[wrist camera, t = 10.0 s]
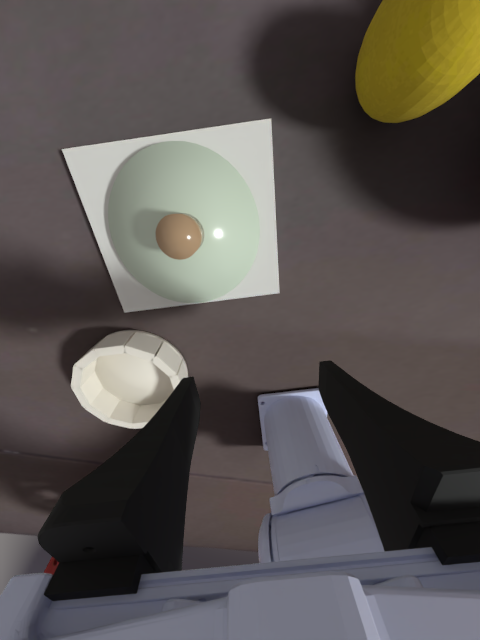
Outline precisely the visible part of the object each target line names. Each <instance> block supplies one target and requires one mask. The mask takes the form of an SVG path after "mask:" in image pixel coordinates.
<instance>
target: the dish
mask: <svg viewBox="0 0 480 640" xmlns="http://www.w3.org/2000/svg"><path fill="white" fill-rule="evenodd" d="M187 377H188V368H187V364H186V362H185V359H184V358H183V356H182V354H181V353H180V352H179V350H178V349H177V348H176V347H175V346H174V345H172V344H171V343H170V342H169V341H167V340H165V339H164V338H162V337H160V336H158V335H155V334H153V333H150V332H146V331H141V330H122V331H117V332H114V333H111V334H109V335H107V336H106V337H104V338H103V339H101V340H100V341H99V342H98V343H97V344H96V345H95V346H93V347H92V348H91V349H90V350H89V351H88V352H87V353H86V354H85V355H84V356H82V357H81V358H80V359H79V360H78V361H77V362H76V363H75V364H74V366H73V373H72V381H71V386H72V387H71V388H72V390H73V392H74V393H75V395H76V397H77V398H78V400H79V402H80V403H81V405H82V407H85V408H84V409H86V410H87V411H89V412H90V413H92V414H93V415H95V416H96V417H98V418H99V419H101V420H102V421H104V422H106V421H107V423H109V424H113V425H117V426H121V427H125V428H130V429H132V427H133V429H139V428H143V427H144V426H145V425H146V424H147V423H148V422H149V421H150V420H151V418H152V417H153V416H154V415H155V414H156V412H157V411H158V410H159V409H160V408H161V406H162V405H163V404H164V403H165V401H166V400H167V399H168V397H169V396H170V395H171V393H172V392H173V391H174V389H175V388H176V387H177V385H178V384H179V382H180V381H181V380H182V379H183V378H187Z"/></svg>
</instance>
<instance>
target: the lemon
mask: <svg viewBox="0 0 480 640" xmlns="http://www.w3.org/2000/svg"><path fill="white" fill-rule="evenodd" d="M479 74H480V0H383V1H382V2H381V4H380V6H379V7H378V9H377V11H376V13H375V15H374V17H373V19H372V21H371V23H370V25H369V27H368V29H367V31H366V33H365V36H364V39H363V42H362V45H361V48H360V52H359V55H358V59H357V66H356V73H355V82H356V92H357V96H358V99H359V102H360V104H361V106H362V108H363V109H364V111H365V112H366V113H367V114H368V115H369V116H370V117H371V118H373V119H375V120H378V121H380V122H384V123H400V122H404V121H408V120H411V119H415V118H418V117H420V116H422V115H424V114H426V113H428V112H430V111H431V110H433V109H435V108H437V107H438V106H440V105H442V104H444V103H445V102H446V101H448V100H449V99H451V98H452V97H453V96H455V95H456V94H457V93H458V92H459V91H460V90H462V89H463V88H464V87H465V86H466V85H467V84H468V83H470V82H471V81H472V80H473V79H474V78H475V77H476V76H478V75H479Z"/></svg>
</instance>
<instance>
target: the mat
mask: <svg viewBox="0 0 480 640" xmlns="http://www.w3.org/2000/svg"><path fill="white" fill-rule="evenodd" d="M167 141H186V142H191V143H196V144H198V145H201V146H204V147H207V148H209V149H210V150H212V151H214V152H216V153H218V154H219V155H220V156H222V157H223V158H224V159H226V160H227V161H228V162H229V163H230V164H231V165H232V166H233V167H234V168H235V169H236V170H237V171H238V172H239V174H240V175H241V176H242V177H243V179H244V180H245V182H246V184H247V185H248V187H249V189H250V191H251V193H252V195H253V198H254V200H255V204H256V207H257V210H258V216H259V224H260V238H259V245H258V251H257V254H256V257H255V260H254V262H253V264H252V266H251V269H250V270H249V272H248V273H247V275H246V276H245V278H244V279H243V280H242V281H241V282H240V283H239V284H238V285H237V286H236V287H235V288H234V289H233V290H231V291H230V292H228V293H227V294H225V295H223V296H221V297H219V298H217V299H214V300H211V301H207V302H212V301H220V300H228V299H236V298H244V297H252V296H260V295H268V294H276V293H279V275H278V254H277V233H276V212H275V191H274V170H273V149H272V128H271V119H264V120H257V121H251V122H244V123H237V124H230V125H224V126H217V127H210V128H203V129H196V130H190V131H183V132H176V133H169V134H162V135H156V136H149V137H142V138H135V139H129V140H122V141H115V142H108V143H101V144H95V145H88V146H81V147H74V148H67V149H62V151H63V154H64V157H65V159H66V162H67V164H68V167H69V170H70V172H71V175H72V177H73V180H74V183H75V185H76V188H77V191H78V193H79V196H80V198H81V201H82V204H83V206H84V209H85V211H86V214H87V217H88V219H89V222H90V224H91V227H92V230H93V232H94V235H95V237H96V240H97V243H98V245H99V248H100V250H101V253H102V256H103V258H104V261H105V263H106V266H107V269H108V271H109V274H110V276H111V279H112V282H113V284H114V287H115V289H116V292H117V295H118V297H119V300H120V302H121V305H122V308H123V310H124V313H125V312H133V311H141V310H149V309H157V308H165V307H173V306H181V305H189V304H197V303H183V302H177V301H173V300H169V299H166V298H164V297H161V296H159V295H157V294H155V293H154V292H152V291H150V290H149V289H147V288H146V287H144V286H143V285H142V284H141V283H140V282H139V281H137V280H136V279H135V278H134V276H133V275H132V274H131V273H130V272H129V271H128V269H127V268H126V267H125V266H124V264H123V262H122V261H121V259H120V257H119V256H118V253H117V251H116V249H115V247H114V244H113V241H112V238H111V234H110V229H109V222H108V204H109V198H110V193H111V190H112V187H113V184H114V181H115V179H116V177H117V175H118V173H119V172H120V171H121V169H122V168H123V166H124V165H125V164H126V163H127V162H128V161H129V160H130V159H131V158H132V157H133V156H134V155H135V154H137V153H138V152H140V151H141V150H143V149H145V148H147V147H149V146H151V145H154V144H157V143H161V142H167ZM201 303H205V302H201Z"/></svg>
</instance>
